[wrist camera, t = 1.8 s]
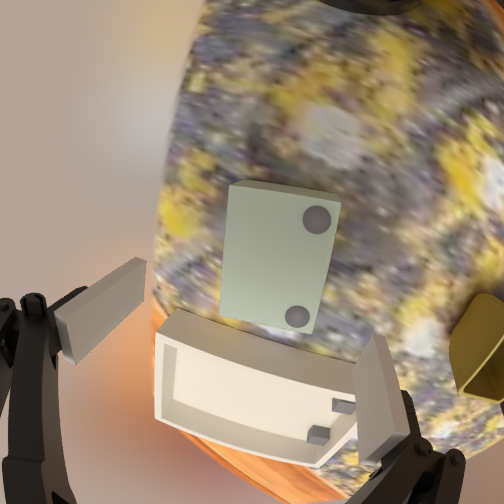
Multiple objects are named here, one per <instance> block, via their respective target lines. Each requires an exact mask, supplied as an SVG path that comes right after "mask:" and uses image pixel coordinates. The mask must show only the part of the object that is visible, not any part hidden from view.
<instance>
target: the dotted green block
mask: <svg viewBox="0 0 504 504" xmlns="http://www.w3.org/2000/svg"><path fill="white" fill-rule="evenodd" d="M341 204H342V203H341V201H340V199H339V198H338V196H337V194H335V193H329V192H324V191H318V190H313V189H307V188H301V187H295V186H288V185H282V184H275V183H268V182H261V181H254V180H246V179H244V180H241V181H239V182H236V183H233V184H231V185H229V193H228V203H227V214H226V226H225V238H224V250H223V263H222V277H221V291H220V306H219V316H224V317H228V318H232V319H237V320H241V321H246V322H251V323H255V324H260V325H265V326H270V327H275V328H280V329H285V330H291V331H296V332H302V333H307V334H312V331H313V327H314V323H315V320H316V316H317V312H318V308H319V305H320V301H321V297H322V293H323V289H324V285H325V280H326V276H327V272H328V268H329V263H330V259H331V254H332V249H333V245H334V240H335V235H336V230H337V225H338V220H339V215H340V209H341Z"/></svg>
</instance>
